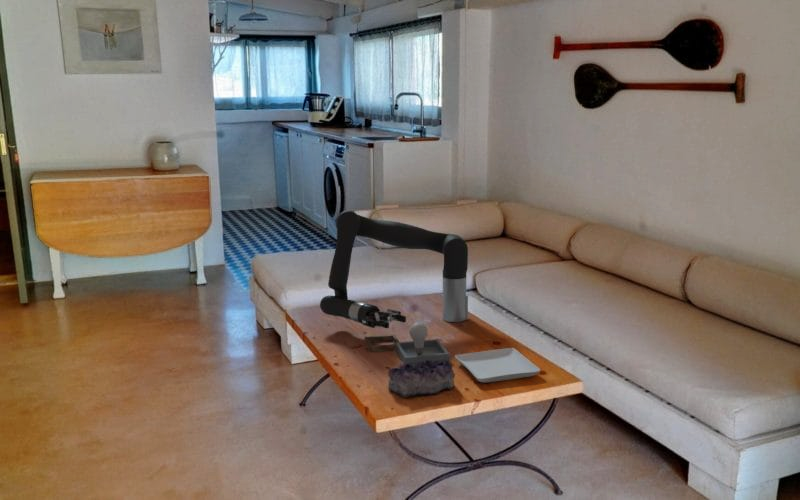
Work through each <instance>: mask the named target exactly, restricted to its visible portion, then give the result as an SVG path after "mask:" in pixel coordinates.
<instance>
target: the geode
mask: <svg viewBox="0 0 800 500" xmlns="http://www.w3.org/2000/svg"><path fill="white" fill-rule="evenodd" d="M387 376H388V377H389V379H388V386H387V387H388V388H387V389H388V390H389V391H392V392H393V393H395V394H398V395H399V396H401V397H402V398H410V397H414V396H417V395H420V396H421V395H422V396H427V395H438V394H439V393H441V391H444V390H451V391H452V390H453V389H454V388H455V376H456V374H455V372H454V370H453V366H452V363H451V361H450V362H449V361H446V363H443V362H439V361H437V360H436V361H435V362H432V361H429V360H426V362H425V363H424V362H423V361H422V362H420V363H417V364H413V365H412V364H411V365H409V364H406V365H405V366H404V364H398V365H397V366H396V367H392V368H390V369H388V372H387Z"/></svg>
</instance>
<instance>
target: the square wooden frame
mask: <svg viewBox="0 0 800 500" xmlns="http://www.w3.org/2000/svg"><path fill="white" fill-rule="evenodd" d="M389 341H390V342H391V341H392V342H393V343H392V344H381V345H379V344H378V345H372V343H377V342H389ZM398 342H400V340H399V339H398V338H397V336H396V334H386V335H385V334H384V335H373V336H370V335H369V336H365V337H364V343H365V345H366V347H367V350H368V352H369V353H376V352H385V351H386V352H387V351H389V352H390V351H396V343H398Z"/></svg>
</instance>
